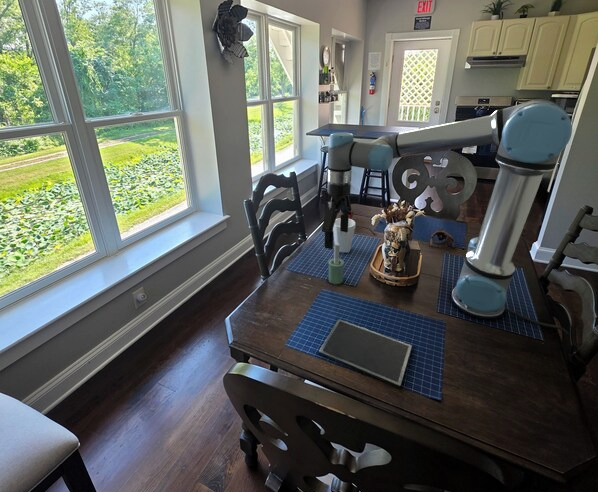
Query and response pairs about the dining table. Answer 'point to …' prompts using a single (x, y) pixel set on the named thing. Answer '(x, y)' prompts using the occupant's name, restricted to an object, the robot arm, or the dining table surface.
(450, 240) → the pottery mug
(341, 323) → the tablet
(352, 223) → the foam cup
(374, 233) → the glasses
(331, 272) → the pen pot
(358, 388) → the dining table surface
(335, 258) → the stylus
